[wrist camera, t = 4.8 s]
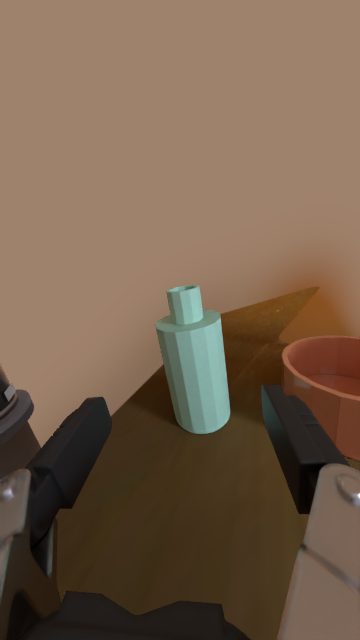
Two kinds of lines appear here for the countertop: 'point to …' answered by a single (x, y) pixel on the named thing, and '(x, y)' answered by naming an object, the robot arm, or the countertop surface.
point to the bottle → (194, 361)
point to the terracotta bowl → (327, 385)
